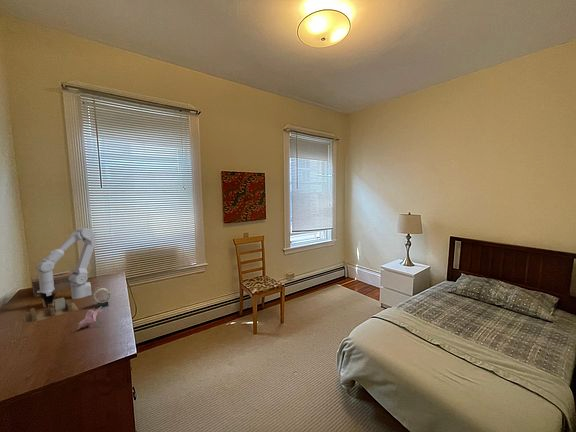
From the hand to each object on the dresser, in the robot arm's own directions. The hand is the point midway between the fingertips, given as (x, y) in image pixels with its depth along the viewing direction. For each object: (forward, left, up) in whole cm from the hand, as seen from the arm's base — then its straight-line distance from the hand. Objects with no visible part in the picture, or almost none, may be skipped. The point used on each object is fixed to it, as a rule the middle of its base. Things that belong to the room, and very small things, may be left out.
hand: (48, 304), depth 136 cm
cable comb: (0, +13, -1) cm, 13 cm away
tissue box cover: (-9, -35, -2) cm, 36 cm away
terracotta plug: (0, 0, -2) cm, 2 cm away
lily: (-11, +46, -2) cm, 47 cm away
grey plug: (-3, +13, 0) cm, 13 cm away
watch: (-20, +25, -2) cm, 32 cm away
